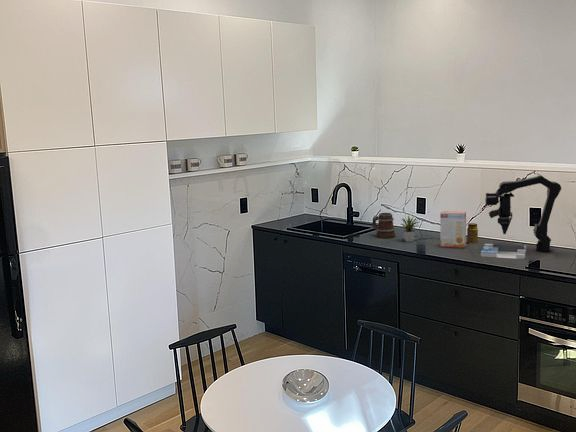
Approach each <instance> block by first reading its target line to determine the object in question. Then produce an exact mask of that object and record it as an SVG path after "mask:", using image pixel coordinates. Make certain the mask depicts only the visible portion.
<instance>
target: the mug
mask: <svg viewBox="0 0 576 432" xmlns="http://www.w3.org/2000/svg"><path fill="white" fill-rule="evenodd" d="M394 221H395V219H394V218H393V213H392V212H381V213H379V214H378V215H375V216H373V218H372V224H371V226H372V228H373V229H374V230H376V238H379V239H392V238H396V233H395V227H394ZM376 222H378V223H377V224H376Z"/></svg>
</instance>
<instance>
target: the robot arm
mask: <svg viewBox="0 0 576 432" xmlns="http://www.w3.org/2000/svg"><path fill="white" fill-rule="evenodd" d="M539 184H541V185H542V186H544V187H545V188H547V190H546V199H545V203H544V206H543V210H542V212H541V216H540V219H539V222H538V223H534V228H533V229H532V231H533V235H534V237H535V238H536V239H537V243H536V245H535V247H536V249H535V251H536V252H540V253H549V252H550V251H551V241H552V239H551V238H550V237H549V235H548V223H549V221H550V217H551V214H552V211H553V207H554V204H555V200H556V199H557V197H559V194H560V192H561V190H562V186H561V184H559V183H558V182H557V181H551V180H550V179H547V178H545V177H544V176H543V175H537V176H533V177H529V178H528V177H527V178H524V179H520V180H510V181H509V180H508V181H502V182H500V183H499V185H498V189H497V190H496V191H495V192H494V193H491V192H490V193H489V192H486V193H485V198H484V200H485V206H497V205H498V204H499V207H498V208H497V209H493V210H490V211H489V212H488V216H489V218H490V219H493V218H495V217H498V218H497V223H498V224H499V225H500V226H501V229H502V234H503V235H507V231H508V230H509V227H510V224H511V222H512V219H513V215H514V214H513V212H512V211H511V210H512V205H511V198H512V197H515V195H514V194H513V192H514V191H516V190H518V189H521V188H526V187H531V186H535V185H539Z"/></svg>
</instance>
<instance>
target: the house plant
mask: <svg viewBox="0 0 576 432" xmlns="http://www.w3.org/2000/svg"><path fill="white" fill-rule="evenodd" d="M414 217H415V215H413V216H412V217H410V215H409V214H408V215H407V218H406V217H405V218H401V221H402V223H400V226H401V225H402V227H401V228H404V230H403V237H404V241H405V242H408V243H409V242H414V239H415V232H416V230H414V229H415V228H416V227H420V224H419V223H420V221H419V217H415V218H414Z"/></svg>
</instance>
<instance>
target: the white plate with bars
mask: <svg viewBox="0 0 576 432" xmlns="http://www.w3.org/2000/svg"><path fill="white" fill-rule="evenodd" d="M526 252H527V245H524V249H518V250H517V252H505V251H498V247H493V243H484V246H483V247H482V250H481V251H480V257H483V258H500V259H517V260H525V257H526Z"/></svg>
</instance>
